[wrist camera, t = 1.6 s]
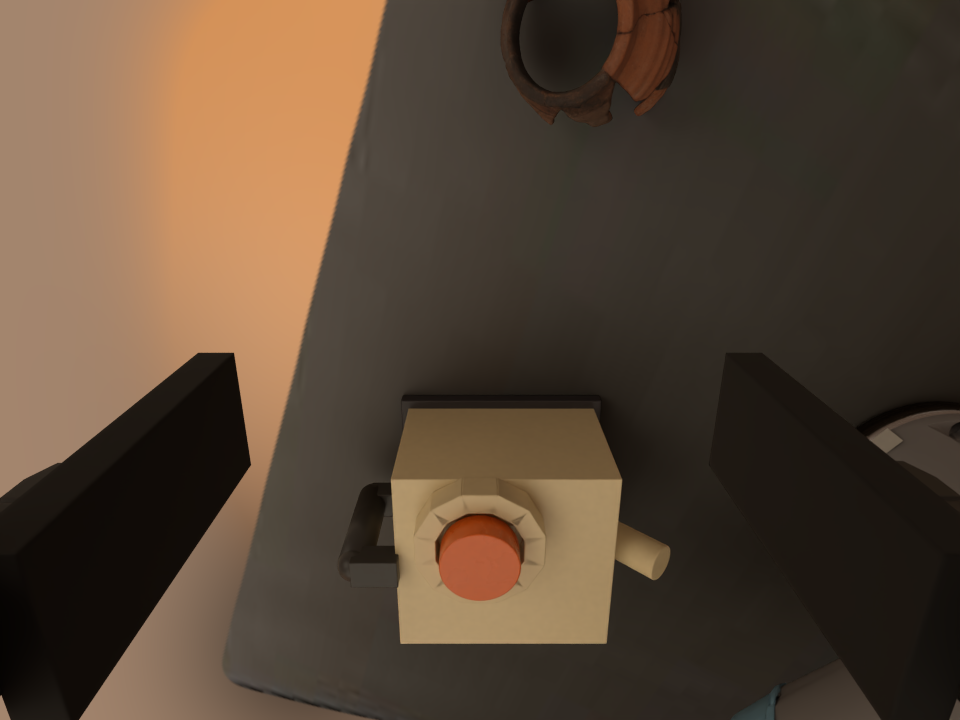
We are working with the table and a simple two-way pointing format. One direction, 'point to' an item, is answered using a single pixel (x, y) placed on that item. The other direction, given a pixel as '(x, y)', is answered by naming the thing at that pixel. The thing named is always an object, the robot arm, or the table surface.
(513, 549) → the button
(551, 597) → the kettle
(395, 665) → the table surface
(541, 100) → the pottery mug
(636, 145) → the table surface
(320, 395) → the table surface
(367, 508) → the kettle handle and spout
